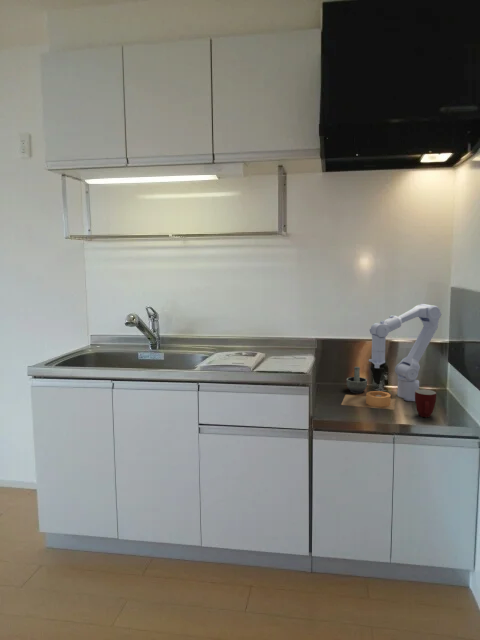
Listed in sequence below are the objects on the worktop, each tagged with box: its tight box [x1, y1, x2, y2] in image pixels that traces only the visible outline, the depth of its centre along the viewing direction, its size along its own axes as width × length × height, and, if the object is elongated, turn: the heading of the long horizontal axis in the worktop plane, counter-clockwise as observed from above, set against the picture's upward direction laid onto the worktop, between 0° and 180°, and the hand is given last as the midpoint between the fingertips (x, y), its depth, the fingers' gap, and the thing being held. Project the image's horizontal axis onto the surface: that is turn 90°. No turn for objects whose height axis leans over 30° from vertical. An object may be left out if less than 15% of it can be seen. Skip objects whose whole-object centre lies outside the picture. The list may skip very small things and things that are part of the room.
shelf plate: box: [340, 394, 397, 411], centre depth 220 cm, size 22×16×5 cm
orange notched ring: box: [365, 390, 392, 407], centre depth 217 cm, size 10×10×4 cm
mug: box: [414, 388, 437, 418], centre depth 203 cm, size 10×8×10 cm
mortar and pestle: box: [346, 366, 368, 394], centre depth 236 cm, size 11×9×12 cm
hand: (377, 380), depth 223 cm, fingers open, 7 cm apart
